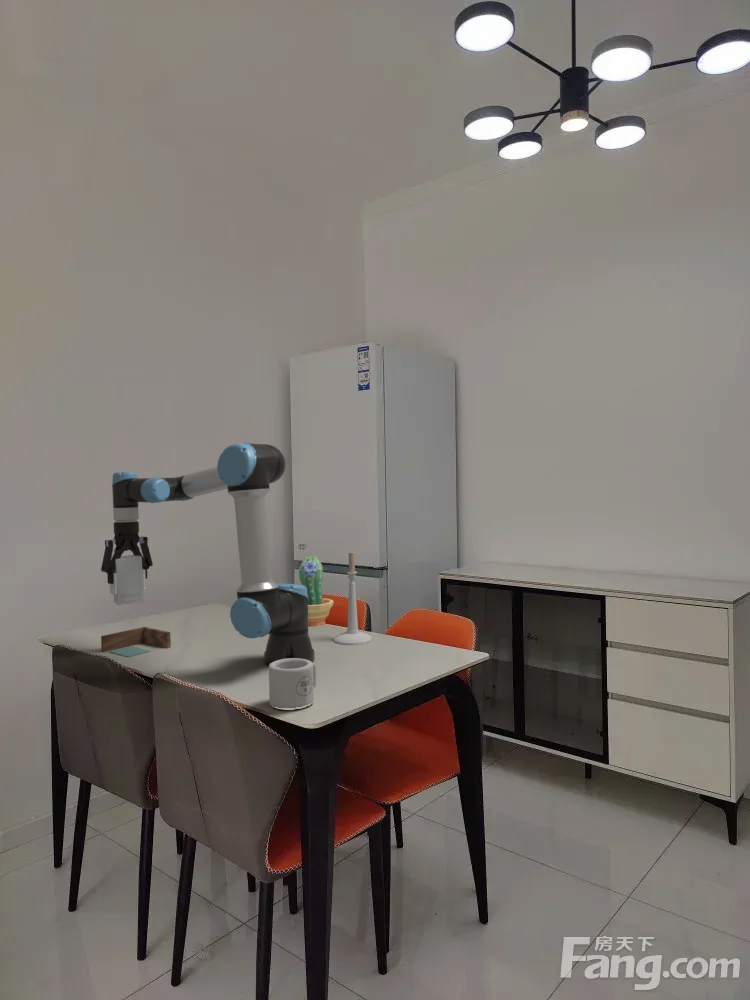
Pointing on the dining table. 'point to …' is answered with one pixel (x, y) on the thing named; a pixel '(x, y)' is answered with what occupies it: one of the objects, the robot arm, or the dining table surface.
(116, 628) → the dining table surface
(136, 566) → the skincare box
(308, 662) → the mug
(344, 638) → the candlestick
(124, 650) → the pad
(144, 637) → the wooden corner bracket
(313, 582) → the potted cactus
